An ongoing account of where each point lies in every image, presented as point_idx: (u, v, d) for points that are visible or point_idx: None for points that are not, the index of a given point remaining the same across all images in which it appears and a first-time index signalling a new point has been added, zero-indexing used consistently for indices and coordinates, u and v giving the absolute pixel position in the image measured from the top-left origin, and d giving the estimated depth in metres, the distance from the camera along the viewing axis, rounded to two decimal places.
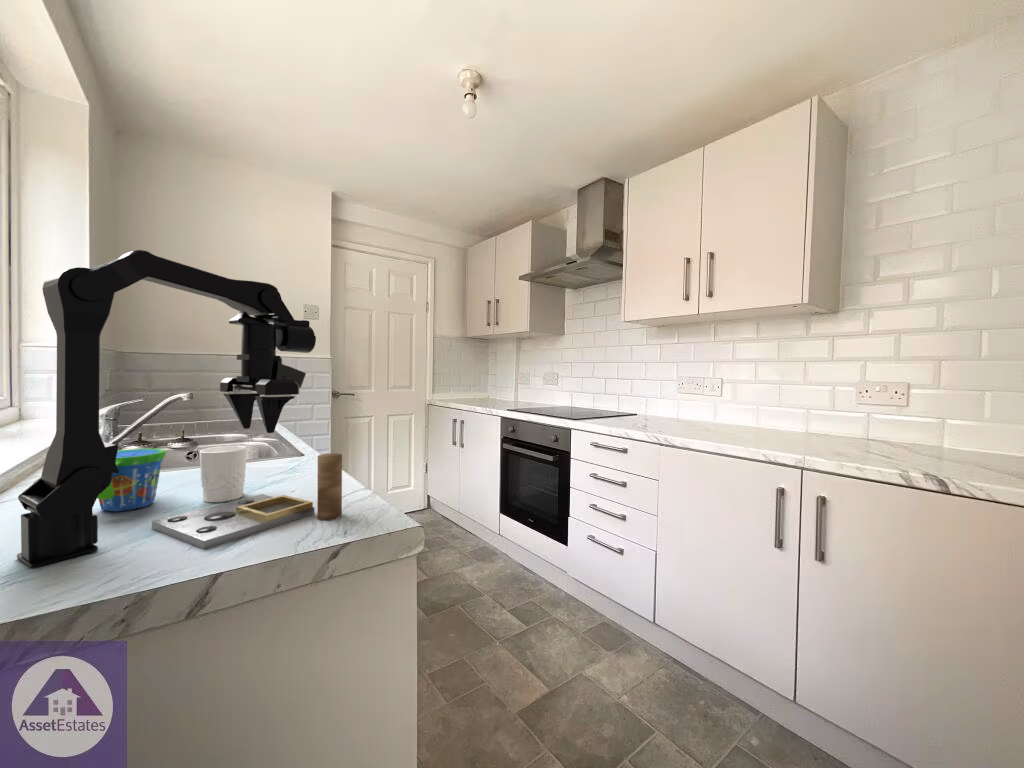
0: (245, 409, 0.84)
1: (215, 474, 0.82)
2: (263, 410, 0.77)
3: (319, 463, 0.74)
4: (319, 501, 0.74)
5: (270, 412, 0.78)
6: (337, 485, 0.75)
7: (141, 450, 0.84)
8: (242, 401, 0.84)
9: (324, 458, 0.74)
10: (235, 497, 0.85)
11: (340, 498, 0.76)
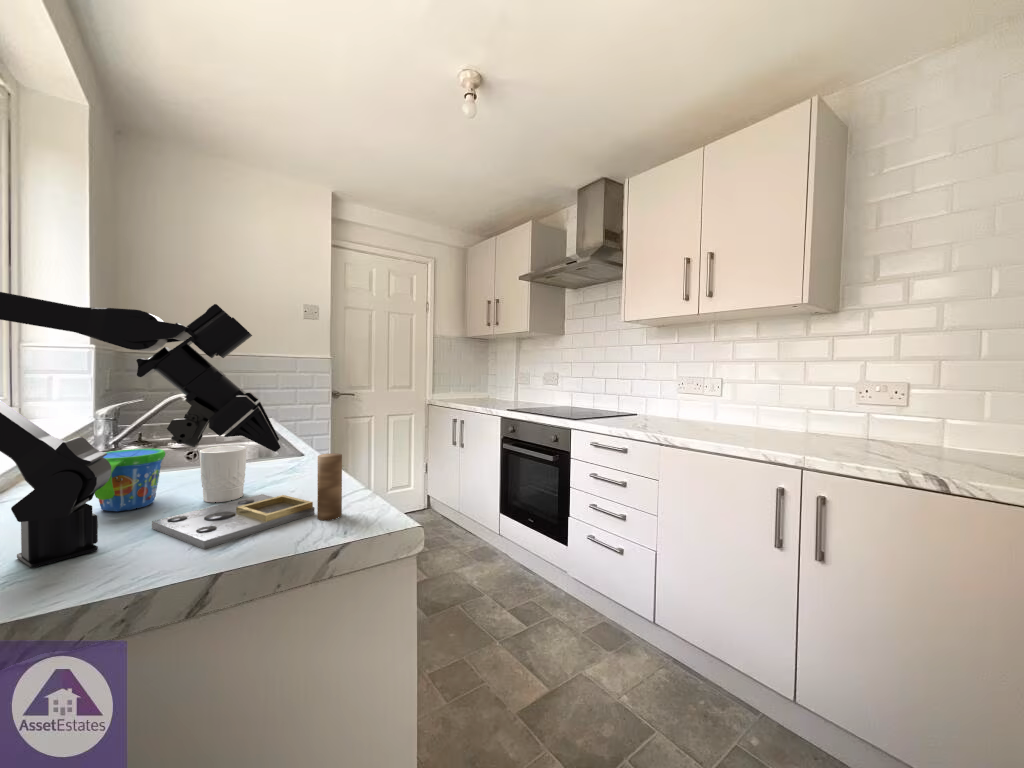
0: None
1: (215, 474, 0.82)
2: None
3: (319, 463, 0.74)
4: (319, 501, 0.74)
5: None
6: (337, 485, 0.75)
7: (141, 450, 0.84)
8: None
9: (324, 458, 0.74)
10: (235, 497, 0.85)
11: (340, 498, 0.76)
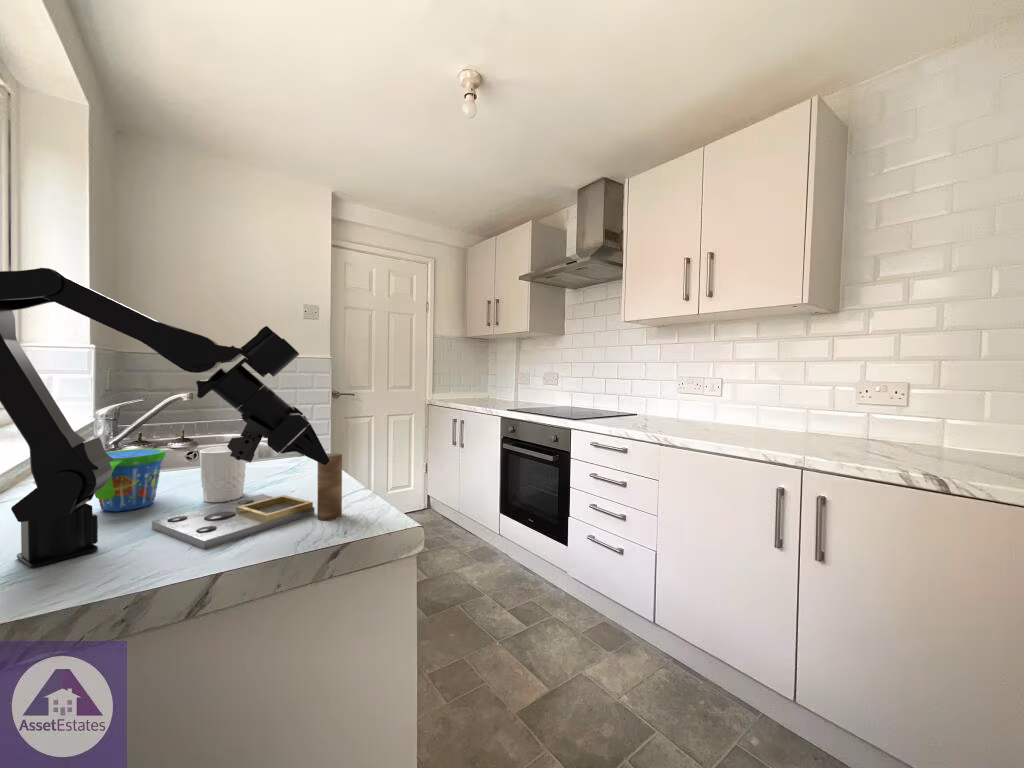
0: None
1: (215, 474, 0.82)
2: None
3: (319, 463, 0.74)
4: (319, 501, 0.74)
5: None
6: (337, 485, 0.75)
7: (141, 450, 0.84)
8: None
9: None
10: (235, 497, 0.85)
11: (340, 498, 0.76)
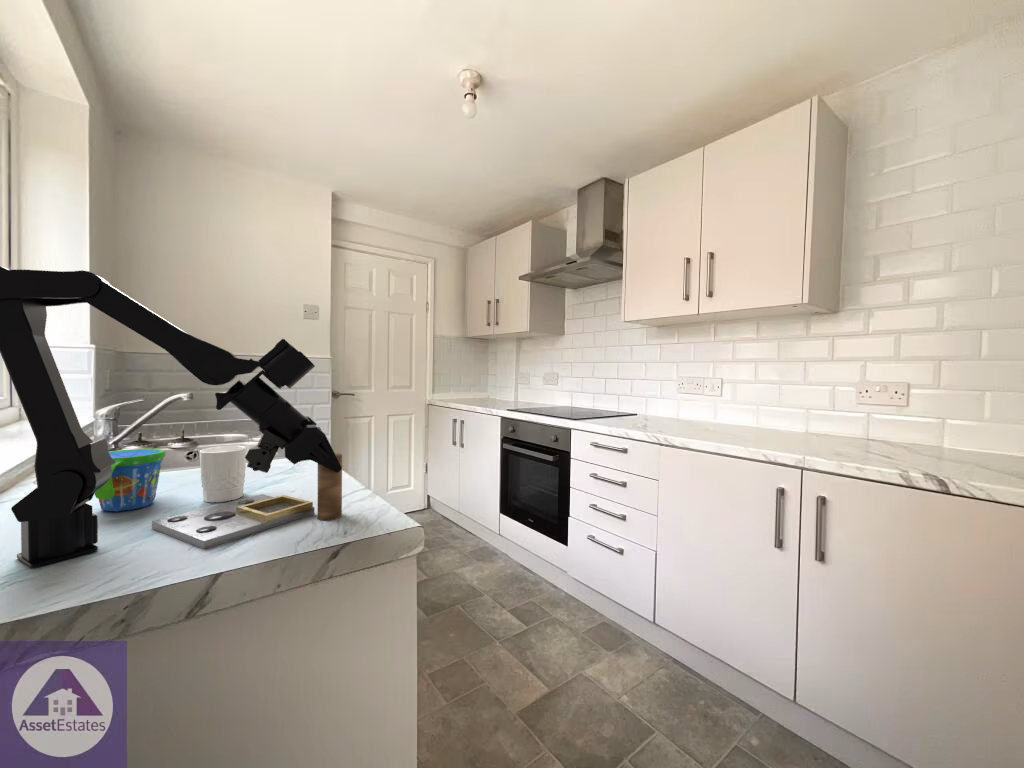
0: None
1: (215, 474, 0.82)
2: None
3: None
4: (319, 501, 0.74)
5: None
6: (337, 485, 0.75)
7: (141, 450, 0.84)
8: None
9: None
10: (235, 497, 0.85)
11: (340, 498, 0.76)
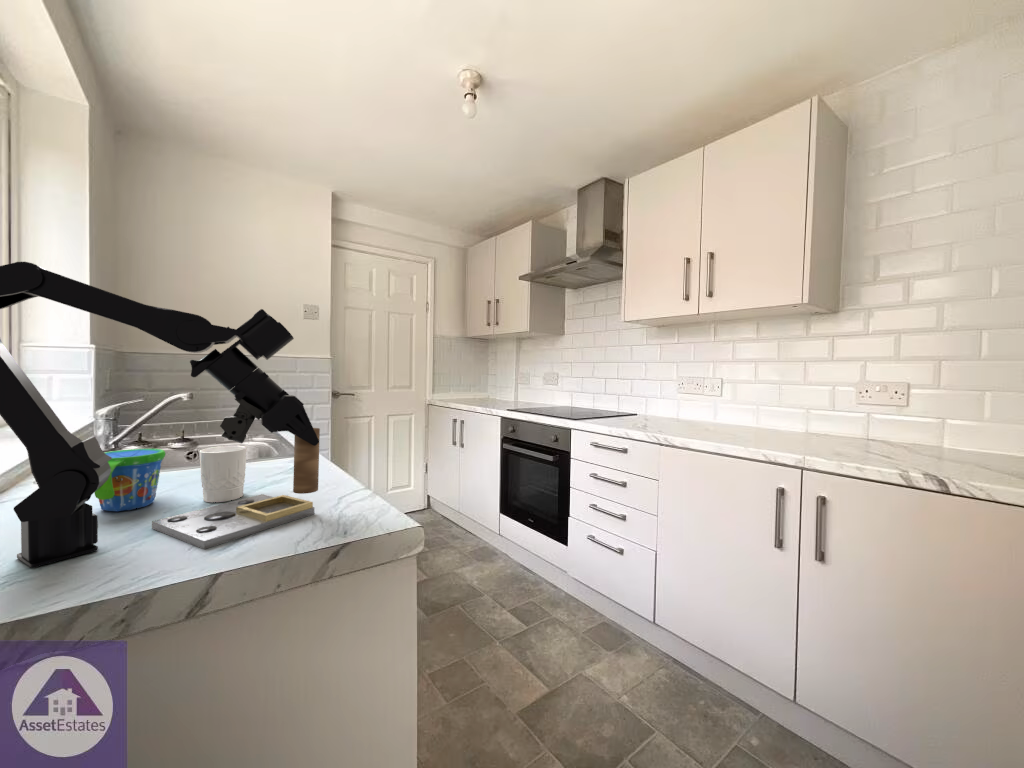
0: None
1: (215, 474, 0.82)
2: None
3: (296, 436, 0.74)
4: (295, 474, 0.74)
5: None
6: (314, 458, 0.75)
7: (141, 450, 0.84)
8: None
9: None
10: (235, 497, 0.85)
11: (317, 472, 0.75)
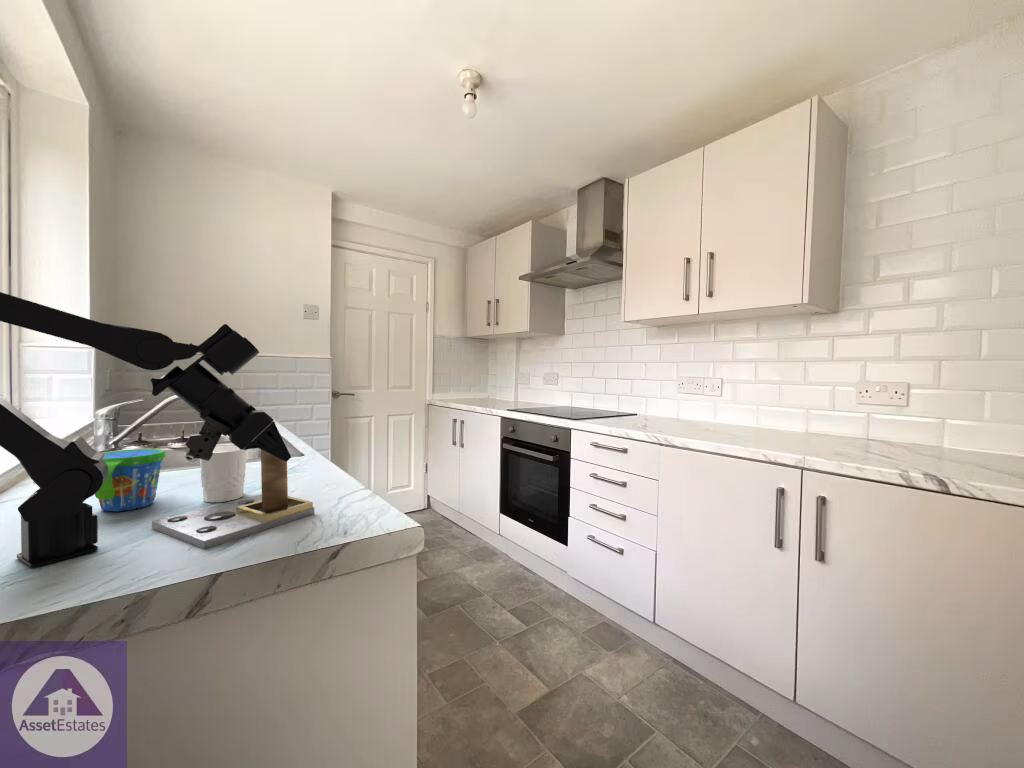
0: None
1: (215, 474, 0.82)
2: None
3: (263, 456, 0.73)
4: (264, 494, 0.73)
5: None
6: (282, 477, 0.74)
7: (141, 450, 0.84)
8: None
9: None
10: (235, 497, 0.85)
11: (286, 490, 0.75)
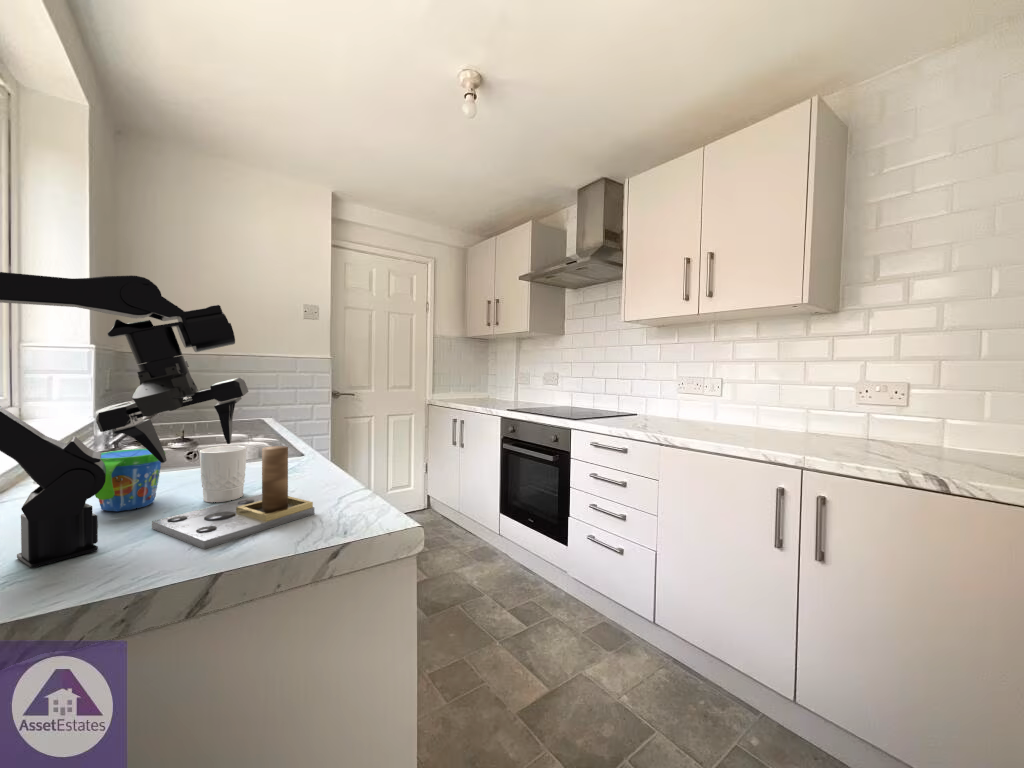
0: None
1: (215, 474, 0.82)
2: None
3: (264, 456, 0.73)
4: (264, 494, 0.73)
5: None
6: (283, 478, 0.74)
7: (141, 450, 0.84)
8: None
9: (269, 450, 0.73)
10: (235, 497, 0.85)
11: (286, 490, 0.75)
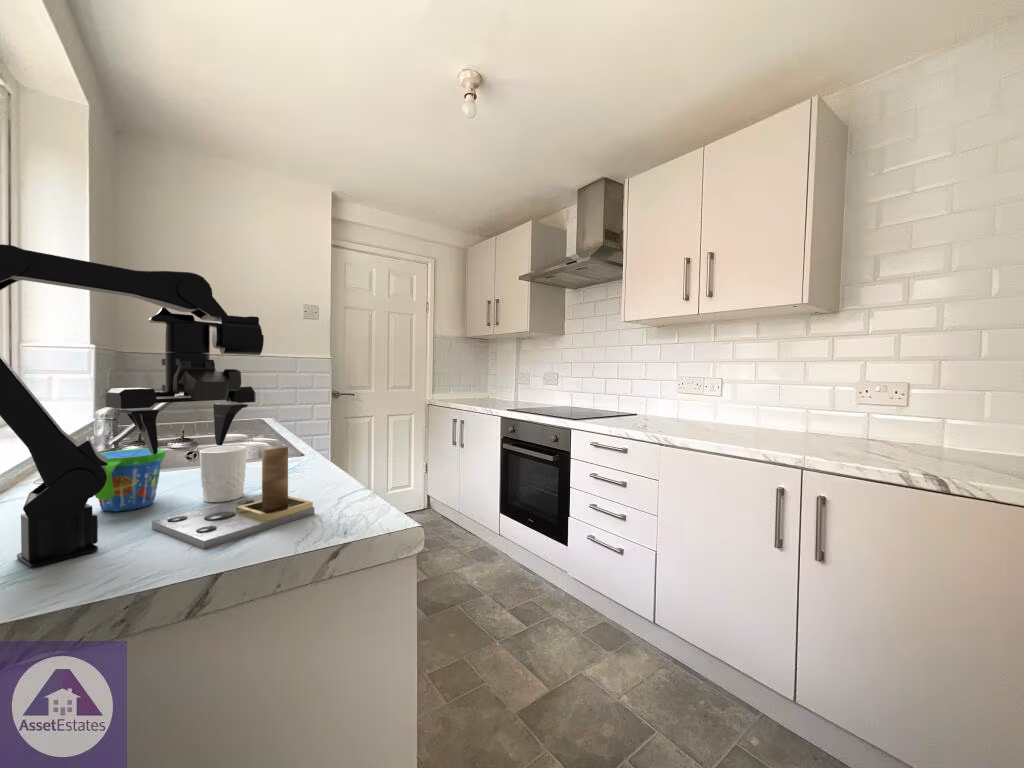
0: (219, 422, 0.73)
1: (215, 474, 0.82)
2: None
3: (264, 456, 0.73)
4: (264, 494, 0.73)
5: (142, 428, 0.64)
6: (283, 478, 0.74)
7: (141, 450, 0.84)
8: (219, 413, 0.73)
9: (269, 450, 0.73)
10: (235, 497, 0.85)
11: (286, 491, 0.75)
